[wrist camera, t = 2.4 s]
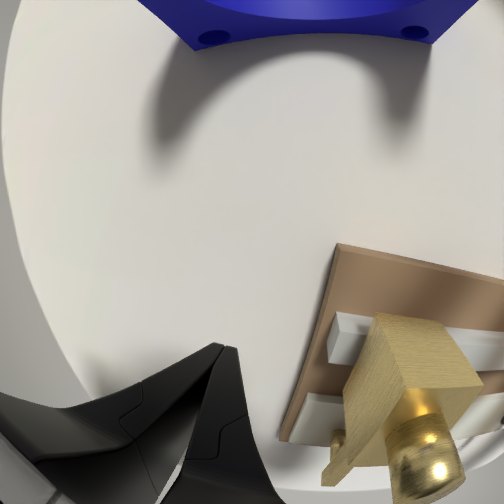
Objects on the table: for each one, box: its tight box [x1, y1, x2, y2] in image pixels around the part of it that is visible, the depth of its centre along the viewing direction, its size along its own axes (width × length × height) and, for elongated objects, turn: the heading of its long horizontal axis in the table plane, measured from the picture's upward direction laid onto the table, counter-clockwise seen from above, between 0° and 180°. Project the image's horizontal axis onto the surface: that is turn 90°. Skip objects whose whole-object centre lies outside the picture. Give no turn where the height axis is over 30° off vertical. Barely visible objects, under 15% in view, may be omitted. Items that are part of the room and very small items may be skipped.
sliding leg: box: [321, 312, 484, 504], centre depth 8 cm, size 3×10×7 cm, turn 172°
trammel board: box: [279, 243, 504, 447], centre depth 11 cm, size 22×13×3 cm, turn 82°
